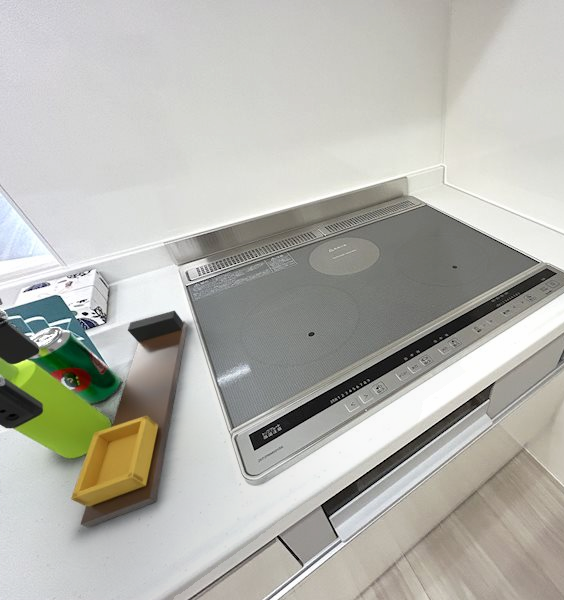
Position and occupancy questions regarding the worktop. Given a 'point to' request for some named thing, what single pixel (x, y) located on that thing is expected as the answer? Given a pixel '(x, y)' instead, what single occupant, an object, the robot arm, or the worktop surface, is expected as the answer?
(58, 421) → the soap dispenser
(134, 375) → the board
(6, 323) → the robot arm
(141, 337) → the end stop
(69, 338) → the soda can
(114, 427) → the tray
